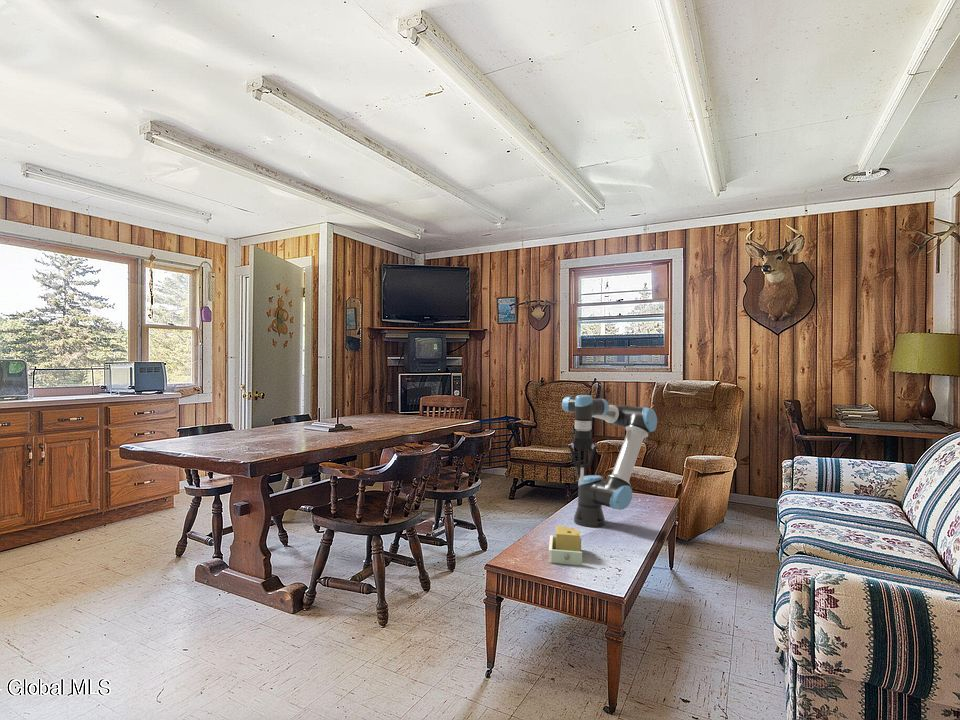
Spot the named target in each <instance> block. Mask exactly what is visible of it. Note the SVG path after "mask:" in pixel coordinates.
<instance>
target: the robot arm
mask: <svg viewBox="0 0 960 720" xmlns="http://www.w3.org/2000/svg"><path fill="white" fill-rule="evenodd" d="M561 401H562V402H561V409H562V410H563V411H564V412H566V413H572V414H573V413H574V429H575V430H574V435H573V438H574V439H573V441H572V442H571V443H569V444H567V445H568V448H569V451H570V453H571V457H572V463H573V466H574V467H576V468H577V475H578V476H579V479H578V485H577V487H578V489H577V508H576V511H575V513H574V515H573V516H574V517H573V522H574V523H575V524H577V525H579V526H583V527H589V528H590V527H591V528H596V527H597V528H598V527H602V526H604V525H605V524H606V519H605V515H604V511H603V506H604V507H608V508H612V509H613V510H625V509H627V508H628V507H629V506H630V504H631V502H632V500H633V489H632V487H631V486H632V485H631V483H630V479H631V476H632V473H633V470H634V468H635V465H636V461H637V459H638V456H639V454H640V450H641V449H642V444H643V441H644V439H645V438H647V437H649V434H650V432H651V433H652V432H655V431H656V429H657V425H658V418H657V414H656V412H655V410H654V409H653V408H649V407H645V406H643V407H641V406H632V405H630V406H629V405H616V404H615V405H614V404H609V402H608V401H607V399H604V398H593V396H592V395H589V394H587V395H586V394H578V395H576V396H565V397H564V398H563V399H562V400H561ZM593 418H595V419H600V420H604V421H605V422H606V423H608V424H612V425H613V426H617V427H621V428H625V431H626V434H625V437H624V439H623V442H622V445H621V448H620V450H619V453H618V456H617V459H616V462H615V463H614V467H613V469H612V472H611V474H608V475H607V477H606V479H605V480H603V479H604V478H603V476H602V475H595V474H594V475H593V474H591V475H590V474H588V475H587V470H588V468H591V466H592V462H593V460H594V457H595V452H596V451H597V449H598V446H597V445H595V444H593V441H592V433H593V432H592V427H593V425H592V424H593V420H592V419H593ZM574 447H575V448H576V450H577V452H578V453H577V461H576V455H575V451H574ZM590 448H591V452H590V454H589V455H590V456H589V460H588V450H589V449H590ZM582 451H583V467H582ZM587 460H588V461H587Z"/></svg>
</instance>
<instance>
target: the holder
mask: <svg viewBox="0 0 960 720" xmlns="http://www.w3.org/2000/svg"><path fill="white" fill-rule="evenodd" d="M549 563H550V564H551V563H552V564H561V565H571V566H572V565H574V566H583V551H582V537H580V552H579V551H567V550H556V535H551V534H550V535H549V544H548V564H549Z"/></svg>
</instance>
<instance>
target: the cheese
mask: <svg viewBox="0 0 960 720" xmlns="http://www.w3.org/2000/svg"><path fill="white" fill-rule="evenodd" d="M555 528H556V529H555V536H556V548H555V549H556V550H567V551H579V552H581V550H580V538H581V530H578V529H575V528H573V527H569V526H565V525H564V526H563V525H556V527H555Z"/></svg>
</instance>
